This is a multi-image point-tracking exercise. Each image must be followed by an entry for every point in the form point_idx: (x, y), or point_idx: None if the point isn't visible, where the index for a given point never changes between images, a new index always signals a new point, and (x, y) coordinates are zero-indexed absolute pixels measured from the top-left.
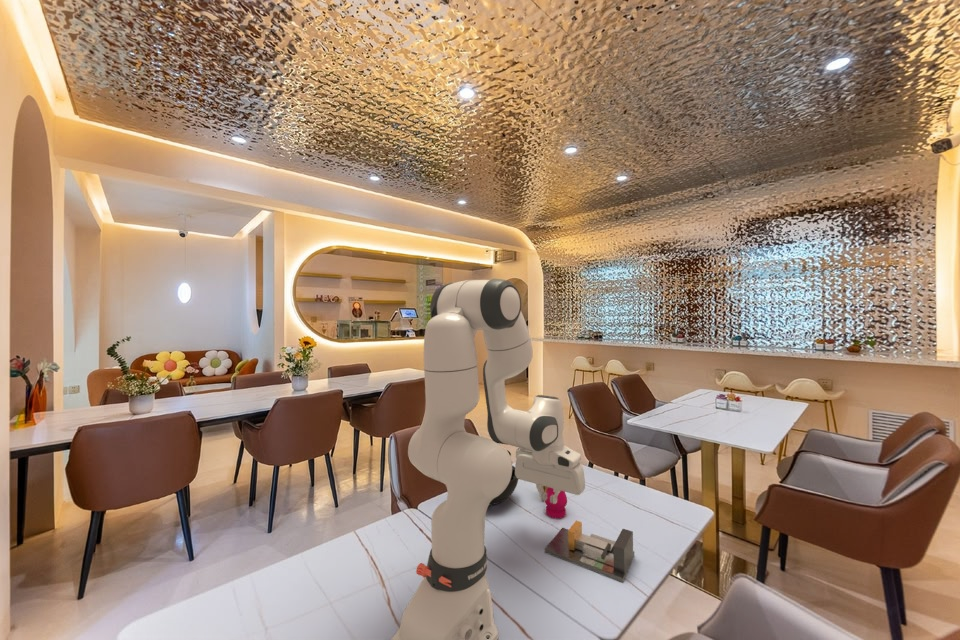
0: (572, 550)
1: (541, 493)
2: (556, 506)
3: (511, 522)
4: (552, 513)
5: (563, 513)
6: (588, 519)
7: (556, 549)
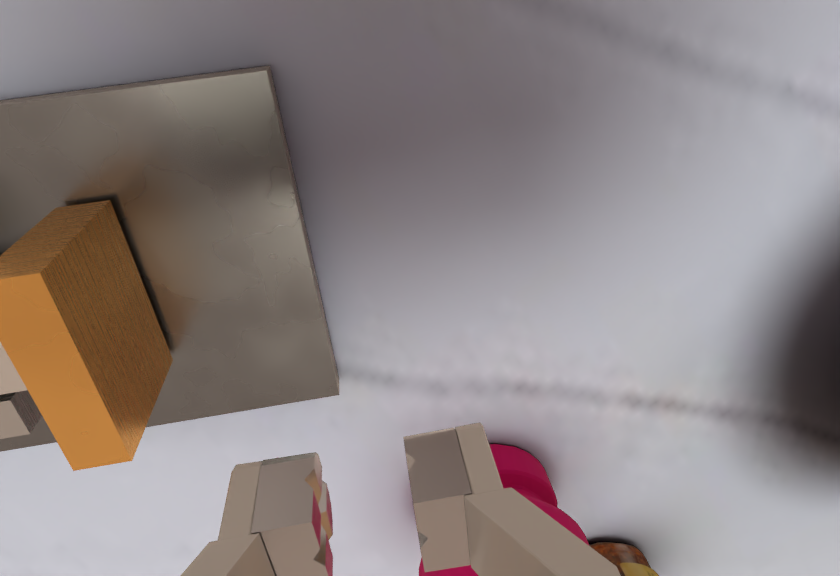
0: None
1: (475, 506)
2: None
3: (702, 224)
4: None
5: None
6: None
7: (186, 133)
